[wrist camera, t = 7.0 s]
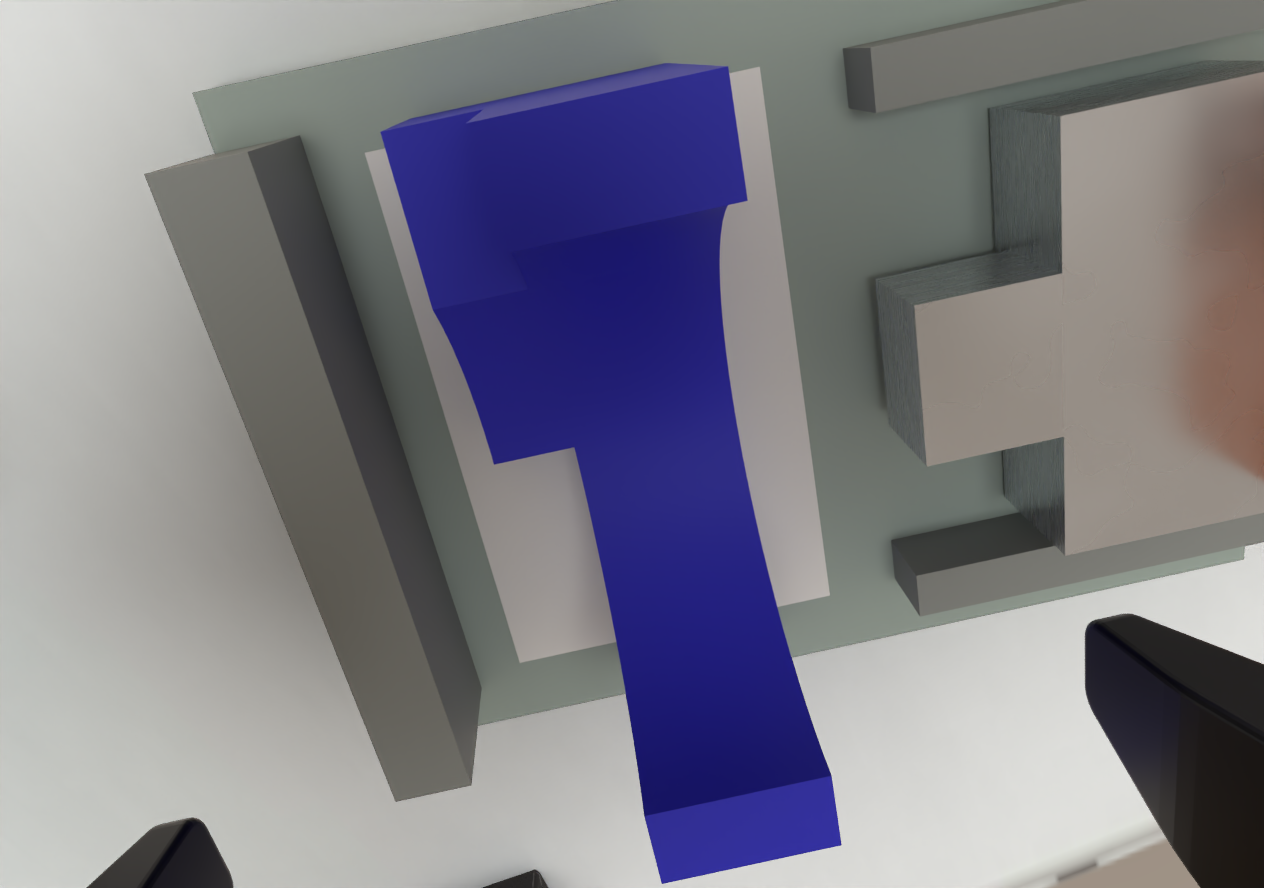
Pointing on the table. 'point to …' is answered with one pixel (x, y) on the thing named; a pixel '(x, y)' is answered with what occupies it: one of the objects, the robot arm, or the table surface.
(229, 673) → the table surface
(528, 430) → the blue flanged block
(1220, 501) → the ram
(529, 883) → the ammunition clip
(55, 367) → the table surface
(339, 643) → the grey fixture base
